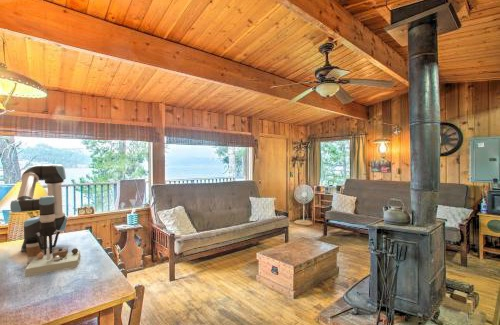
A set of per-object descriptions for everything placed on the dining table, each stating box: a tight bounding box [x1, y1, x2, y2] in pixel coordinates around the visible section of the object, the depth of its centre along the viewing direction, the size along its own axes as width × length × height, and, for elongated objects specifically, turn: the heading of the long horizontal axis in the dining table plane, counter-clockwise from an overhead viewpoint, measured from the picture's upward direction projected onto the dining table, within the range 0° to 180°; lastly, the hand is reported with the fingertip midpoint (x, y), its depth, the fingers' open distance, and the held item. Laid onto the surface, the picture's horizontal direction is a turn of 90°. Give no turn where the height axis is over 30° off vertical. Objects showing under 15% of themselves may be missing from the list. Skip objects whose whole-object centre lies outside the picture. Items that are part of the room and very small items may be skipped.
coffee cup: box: [25, 237, 42, 263], centre depth 173 cm, size 8×8×15 cm
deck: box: [24, 250, 81, 277], centre depth 164 cm, size 20×25×4 cm
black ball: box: [71, 247, 79, 254], centre depth 173 cm, size 4×4×4 cm
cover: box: [52, 247, 69, 258], centre depth 170 cm, size 7×7×4 cm
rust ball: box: [37, 252, 45, 258], centre depth 166 cm, size 4×4×4 cm
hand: (48, 259), depth 160 cm, fingers closed
